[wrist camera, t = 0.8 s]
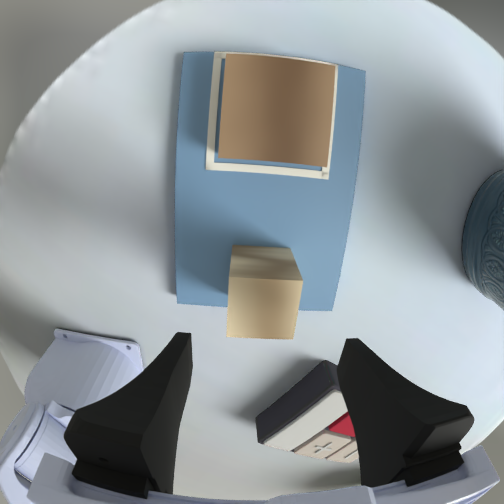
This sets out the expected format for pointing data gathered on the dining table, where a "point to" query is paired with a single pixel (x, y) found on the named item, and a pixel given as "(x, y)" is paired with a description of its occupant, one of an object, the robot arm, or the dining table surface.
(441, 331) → the dining table surface
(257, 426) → the multicoloured piece
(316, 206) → the board
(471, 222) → the canister
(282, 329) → the maple block
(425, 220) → the dining table surface
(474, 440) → the dining table surface
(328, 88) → the walnut base
